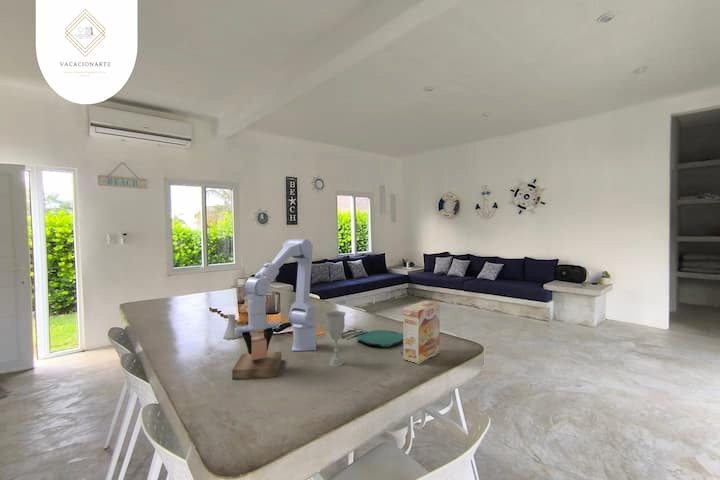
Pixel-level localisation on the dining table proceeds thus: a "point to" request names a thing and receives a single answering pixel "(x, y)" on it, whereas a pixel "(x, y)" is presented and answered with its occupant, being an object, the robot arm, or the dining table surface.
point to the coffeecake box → (421, 331)
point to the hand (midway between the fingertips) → (258, 351)
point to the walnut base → (257, 366)
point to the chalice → (335, 333)
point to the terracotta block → (258, 348)
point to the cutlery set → (377, 337)
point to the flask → (231, 328)
